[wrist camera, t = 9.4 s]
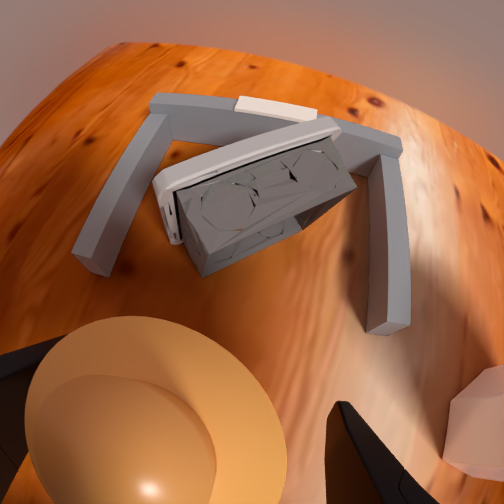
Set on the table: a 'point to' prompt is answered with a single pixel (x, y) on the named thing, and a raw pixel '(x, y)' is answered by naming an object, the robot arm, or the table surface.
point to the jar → (478, 427)
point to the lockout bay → (239, 128)
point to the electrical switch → (252, 192)
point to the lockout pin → (151, 419)
